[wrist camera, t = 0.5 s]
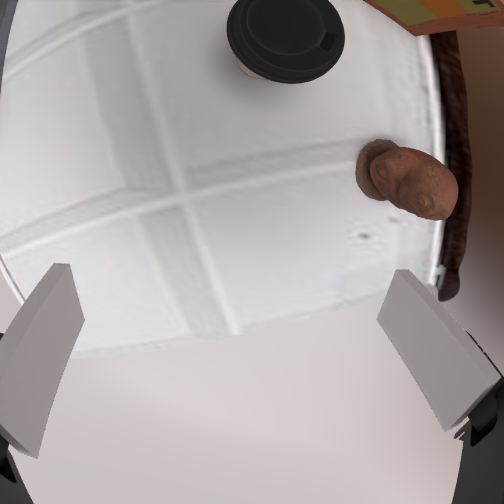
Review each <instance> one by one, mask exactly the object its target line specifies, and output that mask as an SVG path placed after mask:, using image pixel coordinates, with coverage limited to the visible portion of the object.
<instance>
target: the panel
mask: <svg viewBox="0 0 504 504" xmlns="http://www.w3.org/2000/svg"><path fill="white" fill-rule="evenodd" d="M17 1H18V0H0V92H1V81H2V72H3V65H4V58H5V52H6V47H7V41H8V36H9V32H10V27H11V23H12V19H13V15H14V12H15V8H16V5H17Z"/></svg>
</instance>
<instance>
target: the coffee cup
mask: <svg viewBox="0 0 504 504" xmlns="http://www.w3.org/2000/svg"><path fill="white" fill-rule="evenodd" d="M227 37H228V41H229V44H230V46H231V48H232V50H233V52H234V54H235V55H236V58H237V61H238V64H239V66H240V68H241V69H242V70H243V71H244V72H245V73H246V74H248V75H249V76H252V77H254V78H258V79H265V80H271V81H275V82H279V83H287V84H296V83H304V82H308V81H312V80H314V79H317V78H319V77H321V76H322V75H324V74H325V73H327V72H328V71H329V70H330V69H331V68H332V67H333V66H334V65H335V64H336V63H337V61H338V60H339V58H340V56H341V54H342V52H343V48H344V43H345V33H344V28H343V24H342V21H341V18H340V16H339V14H338V12H337V10H336V9H335V8H334V6H333V5H332V4H331V3H330V2H329V1H328V0H238V1H237V2H236V3H235V5H234V6H233V8H232V9H231V11H230V13H229V16H228V20H227Z"/></svg>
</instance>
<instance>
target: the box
mask: <svg viewBox="0 0 504 504" xmlns="http://www.w3.org/2000/svg"><path fill="white" fill-rule="evenodd" d="M363 1H365V2H366V3H368V4H370V5H371V6H373V7H374V8H376V9H377V10H379V11H381V12H382V13H384V14H385V15H386V16H388V17H389V18H391V19H392V20H394V21H395V22H396V23H398V24H399V25H401V26H402V27H403V28H405V29H406V30H407V31H409V32H410V33H411V34H412V35H414V36H421V35H426V34H432V33H438V32H444V31H452V30H460V29H468V28H480V27H501V26H504V0H363Z"/></svg>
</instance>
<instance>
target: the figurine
mask: <svg viewBox="0 0 504 504" xmlns="http://www.w3.org/2000/svg"><path fill="white" fill-rule="evenodd" d="M356 180H357V184H358V186H359V187H360V188H361V190H362V191H363V192H364V194H366V196H368V197H369V198H372V199H375V200H378V201H385V200H389V201H390V202H391V203H392V204H394V206H396V207H397V208H399V209H404V210H406V211H408V212H410V213H413V214H415V215H416V216H418V217H421V218H425V219H431V220H444V219H446V218H448V217H449V216H450V214H451V212H452V211H453V208H454V206H455V204H456V201H457V197H458V186H457V182H456V179H455V177H454V176H453V174H452V173H451V172H450V171H449V169H448V168H447V167H445V166H444V165H443V164H441V162H440V161H438V160H437V159H435V158H434V157H432V156H431V155H429V154H427V153H425V152H422V151H420V150H415V149H412V148H406V147H398V146H397V145H396V144H395V143H393V142H392V141H391V140H381V139H380V140H379V139H378V140H375V141H374V142H373V143H372V142H370V143H369V144H367V146H366V147H364V149H363V150H361V153H360V155H359V158H358V160H357V167H356Z"/></svg>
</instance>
